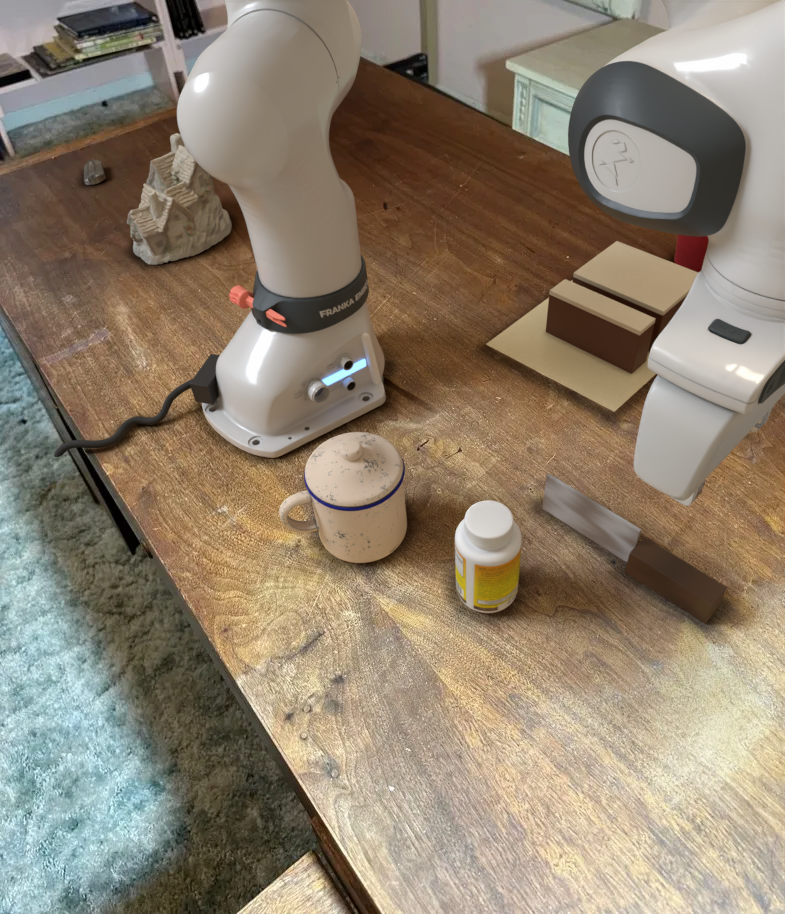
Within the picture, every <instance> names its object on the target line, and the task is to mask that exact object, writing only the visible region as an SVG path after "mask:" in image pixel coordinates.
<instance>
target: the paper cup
mask: <svg viewBox="0 0 785 914" xmlns="http://www.w3.org/2000/svg"><path fill="white" fill-rule="evenodd" d="M708 242H709V239H708V236H685V235H678V234H677V240H676V246H675V253H674V259H673V260H674V261H673V263H675V264H677V265H680V266H683V267H685V268H688V269H690V270H693V271H695V272H698V273H699V272H700V271H701V270H702V266H703V262H704V258H705V255H706V251H707V247H708Z"/></svg>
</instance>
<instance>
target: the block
mask: <svg viewBox="0 0 785 914" xmlns="http://www.w3.org/2000/svg"><path fill="white" fill-rule="evenodd" d="M106 178H107V176H106V174H105V169H104V166H103V163H102V161H101V160H100V159H99V160H98V159H91V160H88V161H86V163H85V164H84V165H83V182H84V184H85V185H86V186H93V185H97V184H99V183H101V182H103V181H104V180H105V179H106Z"/></svg>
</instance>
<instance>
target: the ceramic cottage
mask: <svg viewBox="0 0 785 914" xmlns="http://www.w3.org/2000/svg"><path fill="white" fill-rule="evenodd" d="M169 140H170V141H169V142H170V152H168V153H166V154H164V155H162V156H160V157H156V158H154V159H152V160H150V164H149V173H148V177H147V179H146V182H145V183H143V188H142V192H141V195H140V203H139V205H138V208H135V209H130V211H128V213H127V219H126V224H127V225H129V226H130V228H129V230H130V231H129V234H130V235H129V236H130V238H131V239H132V240H133V241H132V242H133V245H132V251H133V253H134V255H135V256H136V257H138V258H140V259H141V260H142V261H143V262H145V263H146V264H148V265H152V266H157V265H163V264H164V263H169V261H170V262H175V261H178V260H180V259H181V260H182V259H184V258H189V257H194V256H195V255H198V254H200V253H202V252H204V251H205V250H209V249H210V248H211V247H213V246H214V245H215V246H216V245H217V244H219V242H221V241H222V240H224V238H227V236H228V235H230V233H231V231H232V221H231V218H230V214H229V213H228V211H227V210H226V209H224V208H223V205H222V203H221V199H220V197H219V196H218V195H217V194H216V192H215V191H216V190H215V185H214V181H213V178H214V177H213V176H212V175H210V174H209V173H207V172H206V171H205V170H204V169H203V168H202V167H201V166H200V165H199V164H198V163H197V162H196V161H195V160H194V158H193V157H192V156H191V154H190V153H189V151H188V150H187V148H186V146H185V144H184V142H183V140H182V137H181V134H180V133H177V132H176V133H174V134H170V137H169Z"/></svg>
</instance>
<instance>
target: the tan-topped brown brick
mask: <svg viewBox="0 0 785 914" xmlns="http://www.w3.org/2000/svg"><path fill="white" fill-rule="evenodd" d="M571 281H572V280H568V279H566V278H565V279H563V280H562V281H560V282H559V283H557V284H556V285H555V286H553V287H552V288H551V289H550V290H549V293H548V298H549V302H548V312H547V323H546V332H547V333H549V334H551V335H553V336H555V337H557V338H559V339H561V340H563V341H565V342H567V343H569V344H571V345H574V346H576V347H578V348H580V349H582V350H584V351H586V352H588V353H590V354H592V355H594V356H596V357H598V358H600V359H602V360H604V361H606V362H608V363H610V364H612V365H614V366H617V367H619V368H621V369H623V370H625V371H627V372H629V373H631V374H632V373H633V372H634V371H635V370H637V369H638V368H639V367H640V366H641V365H642V364H643V363H644V362H646V359H647V355H648V350H649V346H650V342H651V337H652V333H653V328H654V324H655V319H656V318H653V317H651V316H649V315H647V314H644V313H642V312H640V311H637V310H635V309H633V308H631V307H628V306H626V305H624V304H621V303H619V302H617V301H615V300H612V299H610V298H608V297H605V296H603V295H601V294H598V293H596V292H594V291H592V290H589V289H587V288H585V287H582V286H580V285H578V284H576V283H573V282H571Z"/></svg>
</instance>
